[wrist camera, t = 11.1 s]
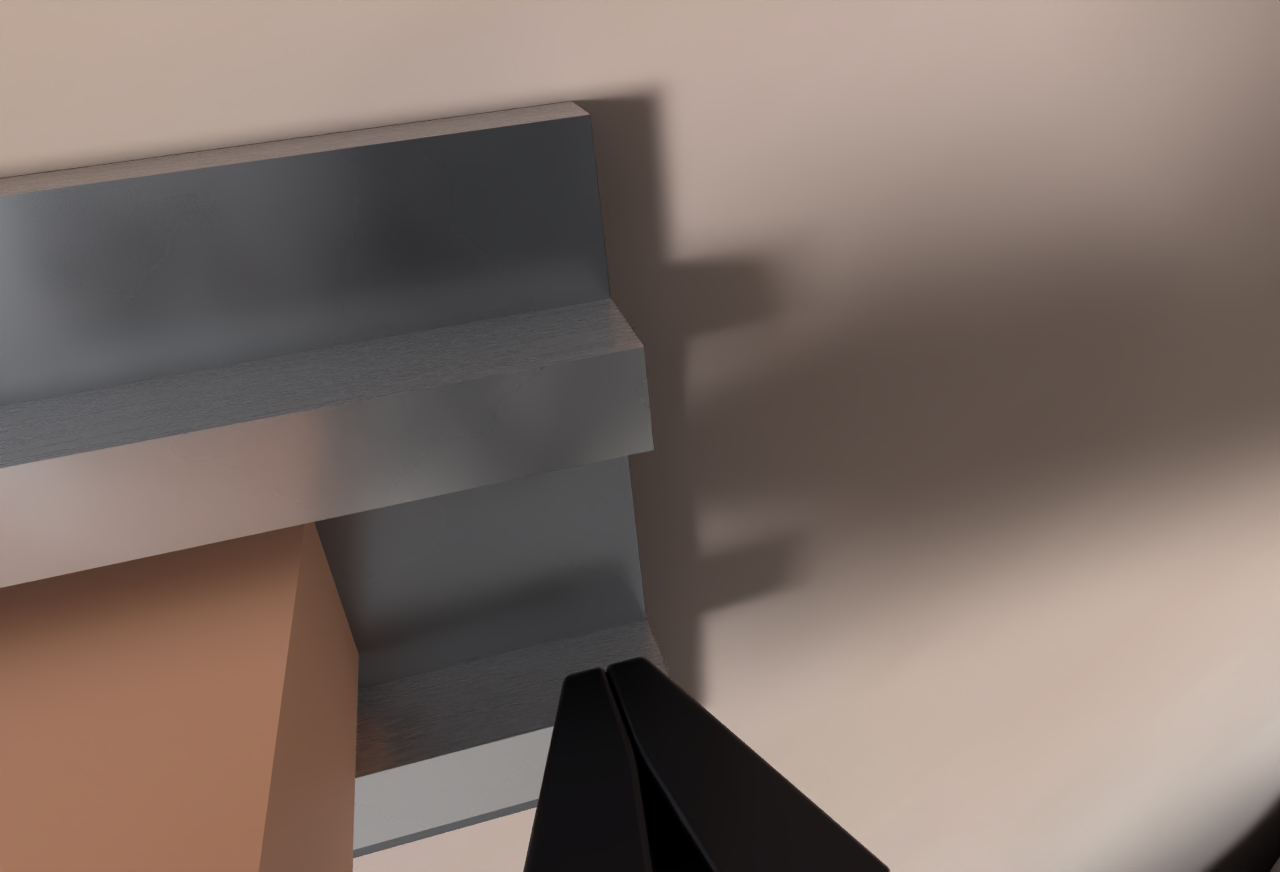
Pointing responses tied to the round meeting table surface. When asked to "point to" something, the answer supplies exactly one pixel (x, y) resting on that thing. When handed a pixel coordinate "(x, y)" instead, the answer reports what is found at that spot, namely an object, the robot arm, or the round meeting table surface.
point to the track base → (350, 415)
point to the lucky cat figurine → (1276, 866)
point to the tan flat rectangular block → (180, 713)
